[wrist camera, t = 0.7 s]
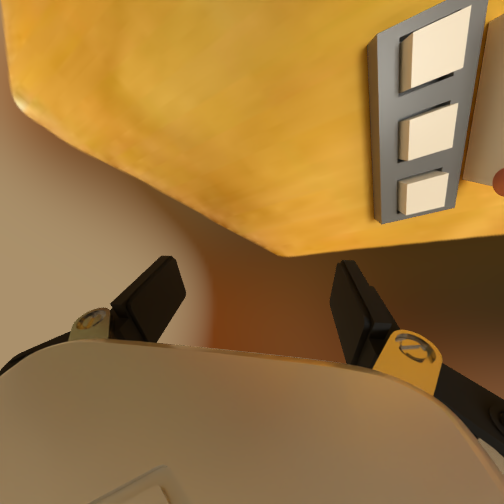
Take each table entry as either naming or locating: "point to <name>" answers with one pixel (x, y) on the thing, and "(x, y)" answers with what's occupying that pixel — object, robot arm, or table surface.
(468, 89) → the button panel
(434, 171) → the button
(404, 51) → the button
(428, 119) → the middle button
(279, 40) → the table surface
